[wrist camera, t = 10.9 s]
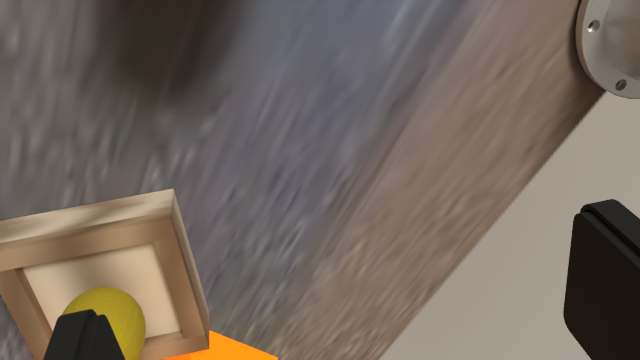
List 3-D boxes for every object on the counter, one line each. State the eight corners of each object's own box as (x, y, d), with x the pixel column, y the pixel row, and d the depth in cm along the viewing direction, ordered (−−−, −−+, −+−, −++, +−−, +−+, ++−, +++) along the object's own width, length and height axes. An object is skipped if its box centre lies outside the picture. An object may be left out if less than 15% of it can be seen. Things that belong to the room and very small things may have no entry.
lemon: (151, 264, 40) (141, 348, 33) (148, 325, 42) (138, 414, 35) (65, 262, 38) (36, 349, 31) (68, 325, 41) (42, 418, 34)
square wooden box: (173, 188, 40) (170, 218, 37) (209, 313, 46) (209, 349, 43) (0, 220, 39) (-20, 255, 36) (59, 344, 45) (47, 383, 42)
